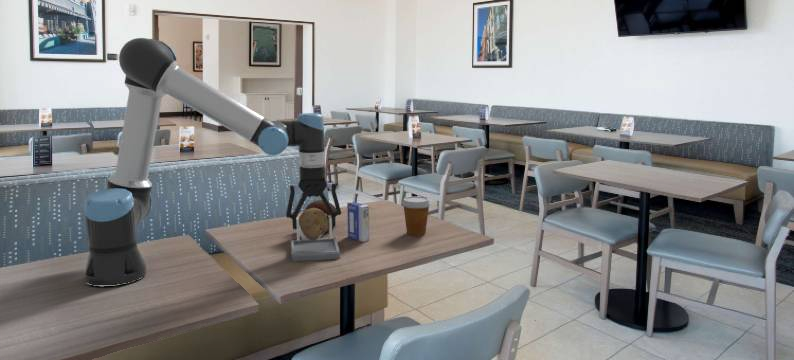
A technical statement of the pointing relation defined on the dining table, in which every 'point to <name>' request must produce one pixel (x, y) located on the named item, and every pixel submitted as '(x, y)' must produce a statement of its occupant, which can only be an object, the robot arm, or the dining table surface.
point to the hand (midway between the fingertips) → (314, 238)
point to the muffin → (321, 208)
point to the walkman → (358, 221)
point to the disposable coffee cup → (416, 214)
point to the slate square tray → (315, 249)
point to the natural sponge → (313, 223)
